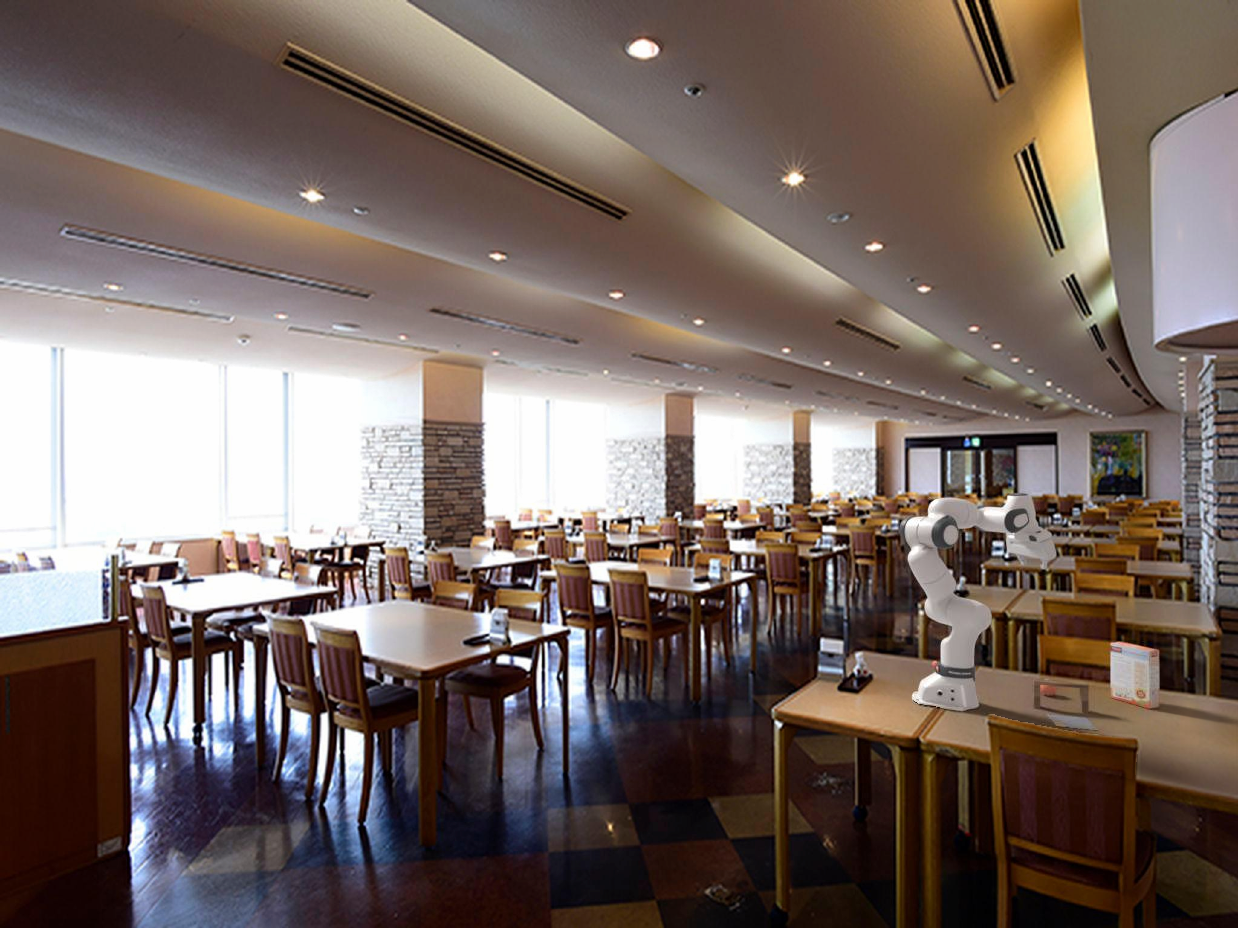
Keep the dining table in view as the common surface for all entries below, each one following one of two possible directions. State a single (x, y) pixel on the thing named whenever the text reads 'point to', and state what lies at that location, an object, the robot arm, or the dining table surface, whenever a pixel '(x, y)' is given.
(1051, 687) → the ball
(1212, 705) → the dining table surface
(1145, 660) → the cracker box
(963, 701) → the robot arm
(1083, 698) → the grey rectangular frame
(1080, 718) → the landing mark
